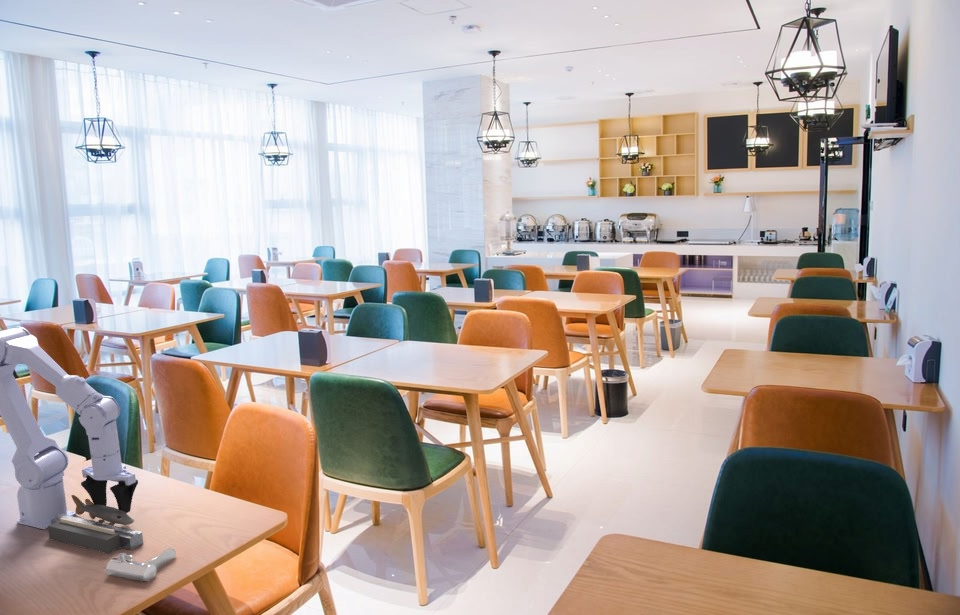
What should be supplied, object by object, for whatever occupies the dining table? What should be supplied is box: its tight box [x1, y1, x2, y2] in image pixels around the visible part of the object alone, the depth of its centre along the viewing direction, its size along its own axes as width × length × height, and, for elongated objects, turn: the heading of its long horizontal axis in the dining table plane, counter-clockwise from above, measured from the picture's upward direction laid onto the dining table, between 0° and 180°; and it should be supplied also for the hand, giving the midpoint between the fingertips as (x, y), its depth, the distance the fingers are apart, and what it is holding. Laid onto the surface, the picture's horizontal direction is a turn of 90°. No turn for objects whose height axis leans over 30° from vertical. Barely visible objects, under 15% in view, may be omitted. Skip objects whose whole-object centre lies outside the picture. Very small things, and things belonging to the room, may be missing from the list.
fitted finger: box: [47, 518, 122, 555], centre depth 146 cm, size 18×3×4 cm, turn 66°
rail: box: [51, 514, 144, 551], centre depth 149 cm, size 24×3×3 cm, turn 66°
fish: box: [71, 494, 135, 526], centre depth 155 cm, size 4×21×5 cm, turn 62°
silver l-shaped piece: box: [105, 547, 177, 583], centre depth 136 cm, size 10×4×9 cm
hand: (113, 510), depth 157 cm, fingers open, 7 cm apart
